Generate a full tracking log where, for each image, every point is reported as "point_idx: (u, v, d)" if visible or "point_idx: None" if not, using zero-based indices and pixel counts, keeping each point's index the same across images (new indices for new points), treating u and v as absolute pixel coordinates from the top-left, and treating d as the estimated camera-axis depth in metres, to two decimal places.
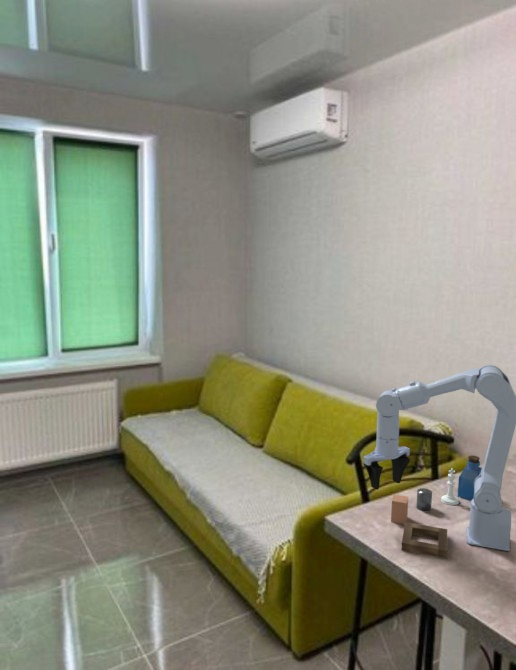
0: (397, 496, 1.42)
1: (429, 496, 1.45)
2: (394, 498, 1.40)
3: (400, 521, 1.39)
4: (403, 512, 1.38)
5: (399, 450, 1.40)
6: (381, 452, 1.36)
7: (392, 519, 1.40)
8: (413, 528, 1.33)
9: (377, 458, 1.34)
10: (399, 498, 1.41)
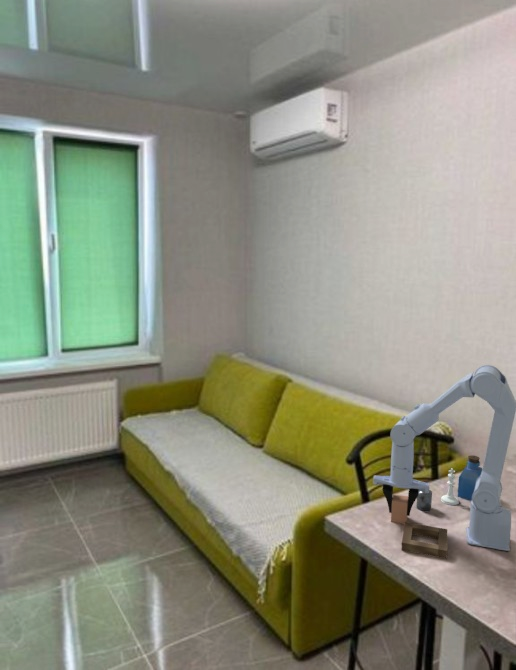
0: (397, 496, 1.41)
1: (429, 496, 1.45)
2: (394, 498, 1.40)
3: (400, 521, 1.39)
4: (403, 512, 1.38)
5: (417, 484, 1.38)
6: (390, 478, 1.40)
7: (392, 519, 1.40)
8: (413, 528, 1.33)
9: (382, 481, 1.40)
10: (399, 497, 1.41)
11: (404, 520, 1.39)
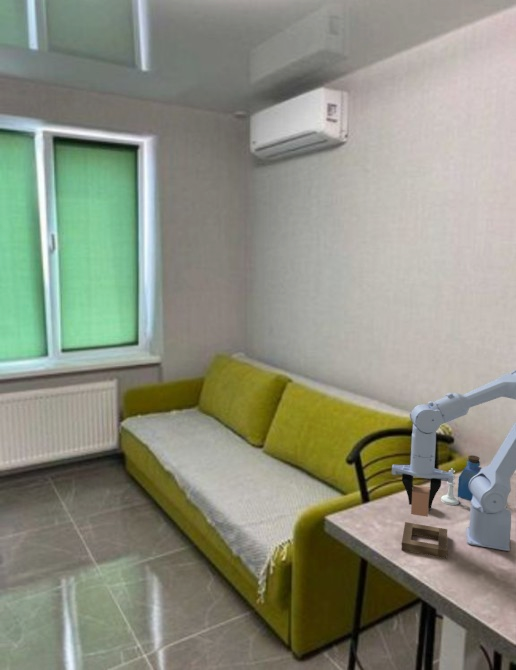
0: (417, 487, 1.32)
1: None
2: (415, 488, 1.31)
3: (421, 513, 1.29)
4: (424, 504, 1.29)
5: (439, 473, 1.28)
6: (410, 467, 1.30)
7: (412, 511, 1.30)
8: (413, 528, 1.33)
9: (402, 470, 1.30)
10: (419, 488, 1.31)
11: (425, 512, 1.29)
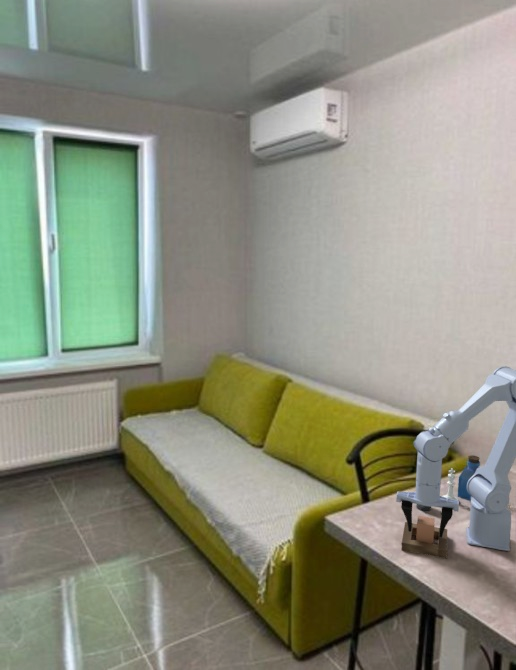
0: (422, 518, 1.30)
1: None
2: (420, 520, 1.29)
3: None
4: (429, 536, 1.27)
5: (445, 501, 1.26)
6: (415, 494, 1.28)
7: None
8: (413, 528, 1.33)
9: (407, 498, 1.28)
10: (424, 520, 1.29)
11: None
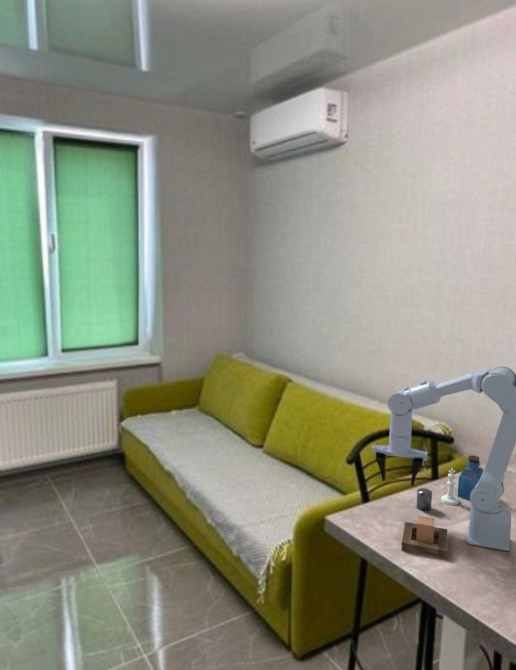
0: (422, 518, 1.30)
1: (429, 496, 1.45)
2: (420, 520, 1.29)
3: None
4: (429, 536, 1.27)
5: (415, 452, 1.40)
6: (389, 447, 1.42)
7: None
8: (413, 528, 1.33)
9: (381, 450, 1.42)
10: (424, 520, 1.29)
11: None
